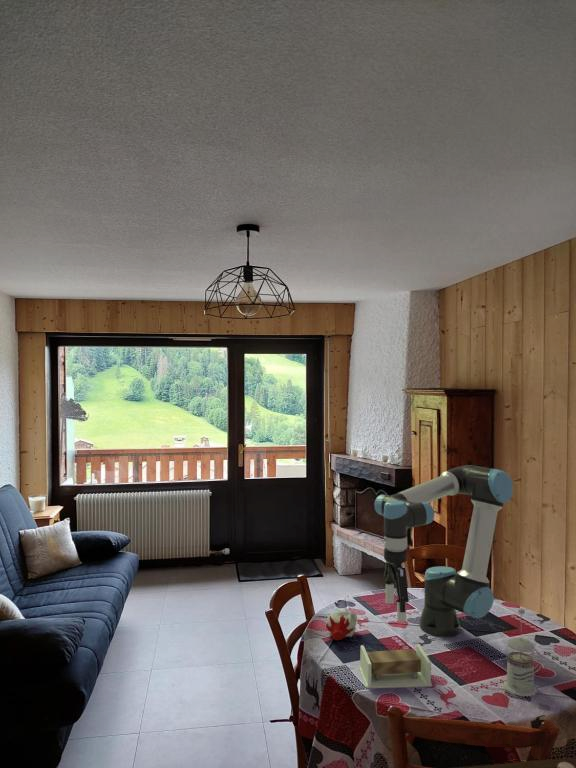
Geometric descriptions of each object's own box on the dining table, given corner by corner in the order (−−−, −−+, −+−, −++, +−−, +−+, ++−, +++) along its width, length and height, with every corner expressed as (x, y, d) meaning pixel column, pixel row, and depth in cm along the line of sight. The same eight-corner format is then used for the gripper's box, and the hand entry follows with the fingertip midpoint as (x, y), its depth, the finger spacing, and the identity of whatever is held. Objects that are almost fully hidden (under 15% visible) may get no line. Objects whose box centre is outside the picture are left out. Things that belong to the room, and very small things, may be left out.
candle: (357, 627, 213) (353, 651, 198) (328, 624, 215) (322, 647, 200) (357, 606, 211) (354, 628, 197) (328, 603, 214) (322, 624, 199)
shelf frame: (420, 666, 186) (420, 644, 186) (432, 686, 174) (432, 662, 174) (358, 668, 184) (359, 645, 184) (366, 688, 172) (366, 664, 172)
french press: (497, 679, 178) (499, 602, 178) (532, 678, 179) (533, 601, 179) (512, 697, 168) (514, 616, 168) (549, 695, 169) (550, 615, 169)
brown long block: (372, 675, 174) (372, 662, 174) (366, 664, 181) (366, 652, 181) (420, 671, 177) (421, 659, 177) (412, 660, 184) (412, 648, 184)
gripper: (374, 537, 195) (374, 596, 195) (395, 561, 170) (395, 629, 171) (395, 536, 196) (395, 595, 196) (419, 560, 171) (419, 628, 171)
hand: (395, 611), depth 183 cm, fingers open, 13 cm apart
